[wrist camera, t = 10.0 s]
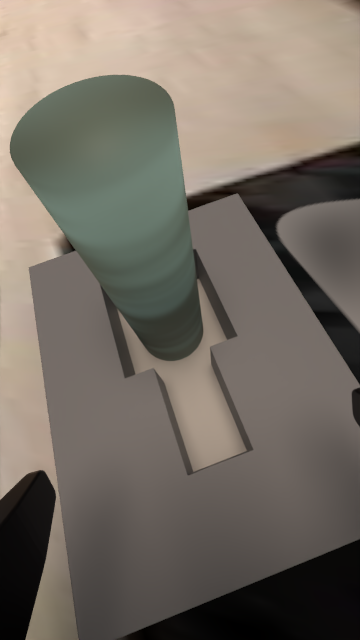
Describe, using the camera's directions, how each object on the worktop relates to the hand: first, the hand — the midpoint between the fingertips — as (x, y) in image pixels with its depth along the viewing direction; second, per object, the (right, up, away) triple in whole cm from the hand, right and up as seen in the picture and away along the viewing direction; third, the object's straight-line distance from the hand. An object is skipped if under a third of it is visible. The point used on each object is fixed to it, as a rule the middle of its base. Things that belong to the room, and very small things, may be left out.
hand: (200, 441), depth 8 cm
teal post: (-1, +3, +10) cm, 11 cm away
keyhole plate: (0, 0, +10) cm, 10 cm away
